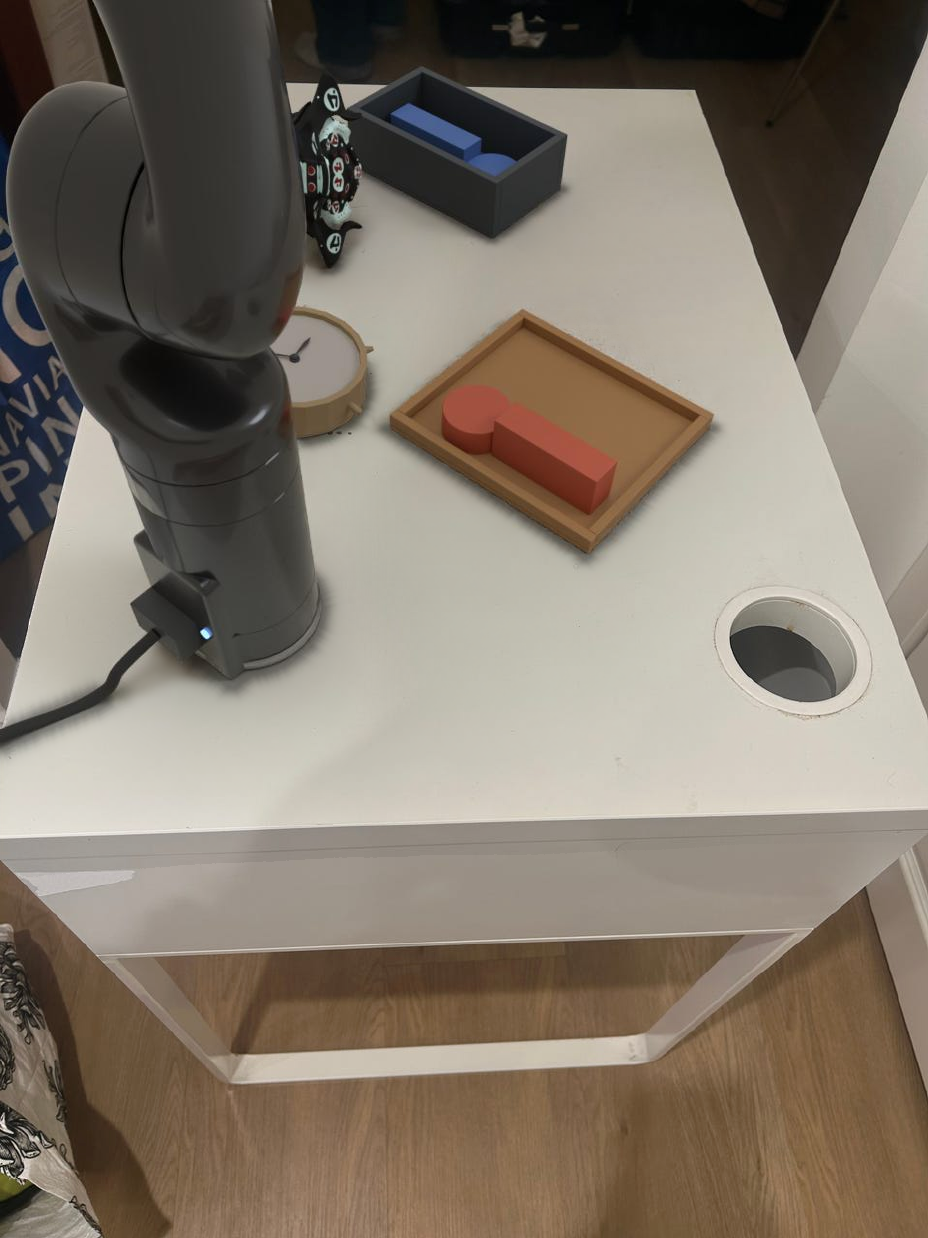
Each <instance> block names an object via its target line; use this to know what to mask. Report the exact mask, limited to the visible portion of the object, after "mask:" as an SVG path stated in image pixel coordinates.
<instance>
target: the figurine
mask: <svg viewBox="0 0 928 1238" xmlns="http://www.w3.org/2000/svg"><path fill="white" fill-rule="evenodd" d="M334 116H338V117H340V118H341V119H342V120H344V121H346V122H347V121H355V120H357V119H359V118H361V117H362V114H361V113H359V112H358V113H351V112H349V111H347V108H346V106H345V103H344V99H343V96H342V93H341V89H340V86H339V84H338V82H337V80H336V78H335V77H334V75H333V74H332V73H331V72H330V71H329V70H324V71H323V72H322V73H321V74H320V77H319V80H318V83H317V85H316V89H315V93H314V96H313V99H312V101H311V100H308V102H306V103H305V104H304V105H303V106H302V107H301V108H300V109H299V110H298V111H295V112H292V117H293V123H294V128H295V134H296V140H297V146H298V152H299V157H300V163H301V169H302V177H303V184H304V195H305V209H306V223H307V235H308V236H309V237H310V238H312V239H314V240H315V242H316V245H317V248H318V251H319V253H320V256H321V257H322V260H323V263H324V265H325V266H326V267H327V268H328V269H331V268H333V267H334V266H335V265H336V264H337V262H338V261H339V259H340V256H341V254H342V250H343V247H344V243H345V240H346V235H347V233H349V231H351V230H362V229H363V225H362V224H361V223H359V222H357V221H354V220H347V219H348V218H349V217H350V215H351V214H352V209H351V207H350V203H351V202H353V200H354V199H355V196H356V194H357V191H358V188H359V187H360V182H359V181H361V180H362V175H363V174H362V171H363V170H362V169H361V164H359V159H358V157H357V155H356V152H355V150H354V148H353V146H352V144H350V143H349V135H350V133H351V131H350V129H349V128H348V125H345V124H344V123H343V122H341V121H339V120H336V119H334ZM339 224H341V226H340V227H339V229H336V228H333V226H334V225H339Z"/></svg>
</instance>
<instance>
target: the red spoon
mask: <svg viewBox="0 0 928 1238" xmlns="http://www.w3.org/2000/svg"><path fill="white" fill-rule="evenodd" d="M442 434H443V436H444V438H445V440H446V441H447V442H449V443H451V444H452V445H454V446H455V447H457V448H459V449H460V450H462V451H463V452H465V453H469V454H486V453H490V452H491V455H492V456H494V457H495V458H497V459H499V460H500V461H502V462H503V463H505V464H507V465H508V466H510V467H511V468H513V469H515V470H516V471H518V472H520V473H521V474H523V475H524V476H526V477H528V478H529V479H531V480H532V481H534V482H536V483H537V484H539V485H540V486H542V487H544V488H545V489H547V490H549V491H550V492H552V493H553V494H555V495H557V496H558V497H560V498H561V499H563V500H565V501H566V502H568V503H569V504H571V505H573V506H574V507H576V508H578V509H579V510H581V511H582V512H584V513H586V514H587V515H590V514H591V513H592V512H593V511H594V510H595V509H596V508H597V507H598V506H599V505H600V504H601V503H602V502H603V501H604V500H605V499H606V498H607V497H608V496H609V494H610V490H611V486H612V482H613V478H614V474H615V470H616V466H617V461H616V460H614V459H613V458H611V457H609V456H608V455H606V454H604V453H602V452H601V451H599V450H597V449H596V448H594V447H592V446H591V445H589V444H587V443H586V442H584V441H582V440H580V439H579V438H577V437H575V436H574V435H572V434H570V433H569V432H567V431H565V430H564V429H562V428H560V427H558V426H557V425H555V424H553V423H552V422H550V421H548V420H547V419H545V418H543V417H542V416H540V415H538V414H537V413H535V412H533V411H531V410H530V409H528V408H526V407H525V406H523V405H521V404H520V403H518V402H515V403H514V404H513V405H511V404H510V402H509V400H508V399H507V397H506V396H505V395H504V394H502V393H501V392H500V391H498V390H496V389H494V388H492V387H488V386H484V385H467V386H463V387H460V388H457V389H455V390H454V391H452V392H451V393H450V394H449V395H448V396H447V397H446V398H445V400H444V402H443V406H442Z"/></svg>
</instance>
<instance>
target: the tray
mask: <svg viewBox="0 0 928 1238" xmlns="http://www.w3.org/2000/svg"><path fill="white" fill-rule="evenodd" d="M467 385H484V386H488V387H492V388H494V389H496V390H498V391H500V392H501V393H502V394H504V395H505V396H506V397H507V399H508V400H509V402H510V404H511V405H513V404H514V403H515V402H518V403H520V404H521V405H523V406H525V407H526V408H528V409H530V410H531V411H533V412H535V413H537V414H538V415H540V416H542V417H543V418H545V419H547V420H548V421H550V422H552V423H553V424H555V425H557V426H558V427H560V428H562V429H564V430H565V431H567V432H569V433H570V434H572V435H574V436H575V437H577V438H579V439H580V440H582V441H584V442H586V443H587V444H589V445H591V446H592V447H594V448H596V449H597V450H599V451H601V452H602V453H604V454H606V455H608V456H609V457H611V458H613V459H614V460H616V461H617V466H616V470H615V474H614V478H613V482H612V486H611V490H610V494H609V496H608V497H607V498H606V499H605V500H604V501H603V502H602V503H601V504H600V505H599V506H598V507H597V508H596V509H595V510H594V511H593V512H592V513H591V514H590V515H587V514H586V513H584V512H582V511H581V510H579V509H578V508H576V507H574V506H573V505H571V504H569V503H568V502H566V501H565V500H563V499H561V498H560V497H558V496H557V495H555V494H553V493H552V492H550V491H549V490H547V489H545V488H544V487H542V486H540V485H539V484H537V483H536V482H534V481H532V480H531V479H529V478H528V477H526V476H524V475H523V474H521V473H520V472H518V471H516V470H515V469H513V468H511V467H510V466H508V465H507V464H505V463H503V462H502V461H500V460H499V459H497V458H495V457H494V456H492V455H491V452H490V453H486V454H469V453H465V452H463V451H462V450H460V449H459V448H457V447H455V446H454V445H452V444H451V443H449V442H447V441H446V440H445V438H444V436H443V434H442V406H443V402H444V400H445V398H446V397H447V396H448V395H449V394H450V393H451V392H452V391H454V390H455V389H457V388H460V387H463V386H467ZM714 417H715V414H714V413H712V412H711V411H709V410H707V409H705V408H704V407H702V406H700V405H698V404H696V403H695V402H693V401H691V400H689V399H687V398H686V397H684V396H683V395H680V394H678V393H676V392H674V391H673V390H671V389H669V388H667V387H665V386H664V385H662V384H660V383H658V382H656V381H655V380H653V379H651V378H649V377H648V376H645V375H643V374H642V373H640V372H638V371H636V370H635V369H634V368H631V367H629V366H628V365H626V364H623V363H622V362H620V361H618V360H616V359H614V358H613V357H611V356H609V355H607V354H606V353H604V352H602V351H600V350H598V349H597V348H595V347H593V346H591V345H590V344H587V343H586V342H584V341H582V340H580V339H578V338H577V337H575V336H573V335H571V334H569V333H567V332H566V331H563V330H562V329H560V328H559V327H556V326H554V325H553V324H551V323H549V322H547V320H544V319H542V318H540V317H538V316H536V315H535V314H533V313H531V312H529V311H527V310H526V309H524V308H521V309H520V310H519V311H518V312H516V313H515V314H514V315H513V316H511V317H510V318H509V319H507V320H506V321H505V322H503V324H501V325H500V326H498V327H497V328H496V329H495V330H494V331H492V332H491V333H490V334H488V336H486V337H485V338H484V339H483V340H482V341H480V342H479V343H477V344H476V345H475V346H474V347H472V348H471V349H470V350H469V351H467V352H466V353H465V354H464V355H462V356H461V357H460V358H459V359H458V360H456V361H454V363H452V364H451V365H450V366H448V367H447V368H446V369H445V370H444V371H442V372H441V373H440V374H439V375H438V376H436V377H435V378H434V379H432V380H431V381H430V382H429V383H428V384H426V385H425V386H424V387H422V388H421V389H420V390H418V391H417V392H416V393H415V394H413V395H412V396H411V397H410V398H409V399H407V400H406V401H405V402H403V404H401V405H400V406H398V407H397V408H396V409H394V410H393V411H392V412H391V413H390V414H389V428H390V429H391V430H392V431H394V432H396V433H397V434H399V435H401V436H402V437H404V438H405V439H407V440H408V441H409V442H411V443H413V444H414V445H416V446H418V447H419V448H421V449H422V450H424V451H425V452H427V453H428V454H429V455H430V454H431V455H432V456H433V457H435V458H436V459H439V460H440V461H441V462H443V463H444V464H446V465H448V467H451V468H452V469H453V470H456V471H457V472H458V473H460V474H462V475H464V476H465V477H467V478H468V479H470V480H471V481H473V482H474V483H476V484H478V485H479V486H481V487H483V489H485V490H487V491H489V492H490V493H491V494H493V495H494V496H496V497H498V498H499V499H501V500H503V501H504V502H506V503H507V504H509V505H510V506H512V507H513V508H515V509H517V510H518V511H520V513H521V512H522V513H523V514H524V515H526V516H527V517H529V518H531V519H533V520H534V521H536V522H537V523H539V524H540V525H541V526H543V527H545V528H547V529H548V530H549V531H551V532H553V533H554V534H556V535H558V536H559V537H560V538H562V539H564V540H565V541H567V542H569V543H570V544H572V545H573V546H575V547H576V548H578V549H579V550H581V551H582V552H584V553H586V554H590V552H592V550H593V549H594V548H596V546H597V545H598V544H599V543H600V542H602V540H603V539H604V538H605V537H606V536H607V535H608V534H609V533H610V532H611V531H612V530H613V528H615V527H616V526H617V525H618V524H619V522H621V520H623V518H624V517H625V516H627V514H628V513H629V512H630V511H632V509H633V508H634V507H635V506H636V505H637V503H638V502H640V501H641V500H642V498H643V497H644V496H645V495H646V494H647V493H648V492H649V491H650V490H651V489H652V488H653V487H654V486H655V485H656V484H657V483H658V482H659V480H661V479H662V478H663V476H665V474H667V473H668V471H670V469H671V468H672V467H673V466H674V465H675V464H676V463H677V462H678V461H679V460H680V459H681V458H682V457H683V456H684V455H685V454H686V452H688V451H689V450H690V448H692V446H693V445H695V443H696V442H697V441H698V440H699V439H700V438H701V437H702V436H703V435H704V434H705V433H706V432H707V431H708V430H709V429H710V428H711V425H712V422H713V420H714Z"/></svg>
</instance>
